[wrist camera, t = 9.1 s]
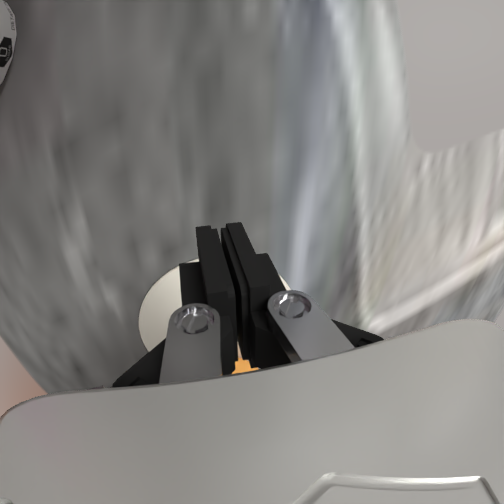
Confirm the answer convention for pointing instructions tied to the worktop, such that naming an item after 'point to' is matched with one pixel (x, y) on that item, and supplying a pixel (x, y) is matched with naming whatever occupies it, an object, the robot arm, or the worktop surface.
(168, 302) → the disc
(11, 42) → the supplement can
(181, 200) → the worktop surface
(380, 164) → the worktop surface
